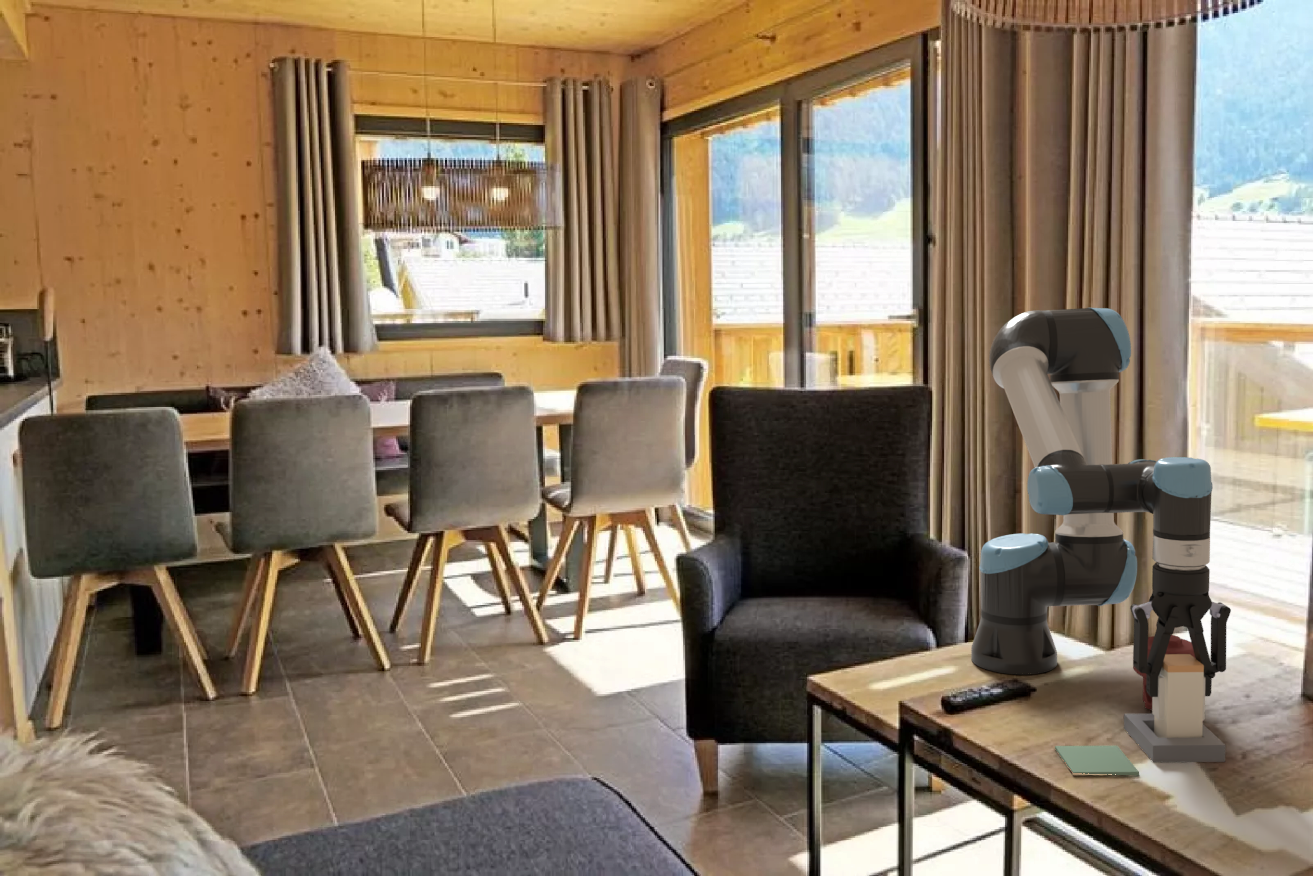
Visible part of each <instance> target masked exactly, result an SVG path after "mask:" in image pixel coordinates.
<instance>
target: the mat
mask: <svg viewBox="0 0 1313 876" xmlns="http://www.w3.org/2000/svg"><path fill="white" fill-rule="evenodd" d="M1055 749H1056V751H1057V752H1058V753H1059V755H1060V756H1061V758H1062V759H1063V760H1064V762H1066V764H1067V766H1068V767H1069V768H1070V769H1071V771H1072V772H1073V773H1082V774H1083V773H1085V774H1088V773H1089V774H1107V775H1108V774H1112V775H1115V774H1116V775H1139V776H1140V771H1139V770H1138V768H1137V767H1136V766H1135V765H1134V764H1133V763H1132V761H1131V760H1130V759H1129V758H1128V757H1127V756H1126V754H1125V753H1124V752H1123V751H1122V750H1121V748H1120V747H1119V745H1054V750H1055ZM1056 751H1055V752H1056ZM1057 752H1056V753H1057ZM1059 755H1058V756H1059ZM1060 756H1059V757H1060ZM1061 758H1060V759H1061ZM1062 759H1061V760H1062ZM1064 762H1063V763H1064Z"/></svg>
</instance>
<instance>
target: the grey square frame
mask: <svg viewBox="0 0 1313 876" xmlns="http://www.w3.org/2000/svg"><path fill="white" fill-rule="evenodd" d="M1124 729H1125V730H1126V731H1127V732H1128V733H1127V732H1126V731H1125V730H1124ZM1123 730H1124V731H1125V732H1126V733H1127V734H1128V736H1129V735H1130V736H1131V737H1132V738H1133V739H1134V740H1135V741H1136V742H1135V741H1134V740H1133V739H1132V738H1131V737H1130V736H1129V737H1130V738H1131V739H1132V740H1133V741H1134V742H1135V743H1137V744H1139V746H1140V747H1141V748H1140V747H1139V746H1138V747H1139V748H1140V749H1141V750H1142V749H1143V750H1142V751H1143V752H1145V753H1146V754H1147V755H1148V756H1147V755H1146V754H1145V753H1144V754H1145V755H1146V756H1147V757H1148V759H1150V758H1151V759H1150V760H1152V761H1153V762H1152V761H1151V762H1152V763H1205V762H1207V763H1210V762H1213V763H1214V762H1215V763H1220V762H1222V763H1223V762H1226V744H1225V743H1224V742H1223V741H1222V740H1221V739H1220V738H1218V736H1216V735H1215V733H1213V732H1212V731H1211V730H1210V729H1209V728H1208V727H1207V726H1206V725H1204V724H1203V727H1202V737H1190V738H1158V737H1157V736H1156V735H1155V734H1154V715H1153V714H1152V713H1123ZM1137 744H1136V745H1137Z"/></svg>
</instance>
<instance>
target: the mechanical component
mask: <svg viewBox="0 0 1313 876" xmlns="http://www.w3.org/2000/svg"><path fill="white" fill-rule="evenodd" d="M1154 636H1155V635H1153V636H1148V656H1149V653H1150V650H1151V646H1152V643H1153V639H1154ZM1166 654H1190V655H1192V656H1193V657H1194V658H1195V654H1194V651H1193V647H1192V643H1191V640H1190V641H1189V640H1188V639H1184V638H1181V637H1180V636H1178V635H1176V634H1175V635H1174V634H1172V635H1171V637H1170V640H1169V644H1168V647H1167V651H1166ZM1195 659H1196V658H1195ZM1147 660H1148V657H1147ZM1132 669H1133V671H1134V672H1135V673H1136V674H1138V675H1139V676H1141V677H1142V700H1143V702H1144V708H1145V709H1147V710H1149V709H1151V710H1150V711H1152V697H1151V696H1150V695H1149V694H1148V693H1147V691H1146V674H1145V673H1141V672H1139V671H1138V670H1137V669H1136V668H1135V667H1134V666H1133V665H1132Z"/></svg>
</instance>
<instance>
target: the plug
mask: <svg viewBox="0 0 1313 876" xmlns="http://www.w3.org/2000/svg"><path fill="white" fill-rule="evenodd" d="M1160 674H1161V675H1162V676H1163V677H1164V678H1165V697H1164V720H1158V719H1157V718H1156V717H1155V716H1154V734H1155V735H1156V736H1157V737H1158V738H1190V737H1202V727H1203V725H1204V723H1203V721H1204V720H1203V680H1204V665H1203V664H1201V663H1200V662H1199V661H1198V660H1197V659H1195V658H1194V657H1193V656H1192V655H1190V654H1165V657H1164V661H1163V664H1162V668H1161V671H1160Z"/></svg>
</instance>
